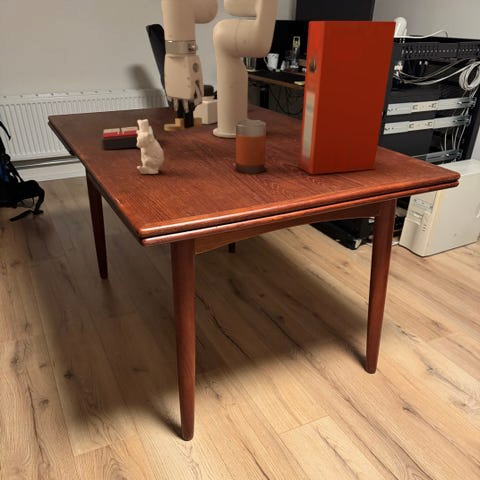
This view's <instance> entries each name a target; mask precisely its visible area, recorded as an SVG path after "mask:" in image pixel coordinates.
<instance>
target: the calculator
mask: <svg viewBox="0 0 480 480" xmlns="http://www.w3.org/2000/svg"><path fill="white" fill-rule="evenodd" d="M137 130H140V127H139V126H128V127H121V128H118V127H117V128H116V127H115V128H108V129H106V128H105V129H103V131H102V133H101V134H102V135H101V141H102V145H103V150H104V151H109V150H119V149H128V148H138V147H137V142H138V141H137V137H138V134H137V133H136V131H137ZM149 133H152V134H153V135H154V138H155V139H156V140H157V138H156V133H155V130H154V128H153V126H151V125H149Z"/></svg>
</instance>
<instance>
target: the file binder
mask: <svg viewBox="0 0 480 480" xmlns="http://www.w3.org/2000/svg"><path fill="white" fill-rule="evenodd" d="M396 26H397V21H390V20H389V21H388V20H384V21H383V20H380V21H378V20H359V21H358V20H316V21H315V20H311V21H309V22H308V34H307V47H306V48H307V49H306V63H305V64H306V65H305V76H304V77H305V78H304V91H303V92H304V93H303V107H302V121H301V135H300V136H301V137H300V149H299V150H300V151H299V166H298V167H299V169H301V170H303V171H305V172H306V173H308V174H309V175H311V176H312V175H323V174H334V173H343V172H344V173H346V172H355V171H366V170H374V169H375V164H376V157H377V153H378V144H379V138H380V132H381V126H382V118H383V111H384V105H385V98H386V92H387V85H388V80H389V72H390V67H391V59H392V53H393V47H394V39H395V33H396Z"/></svg>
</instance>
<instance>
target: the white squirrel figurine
mask: <svg viewBox="0 0 480 480" xmlns="http://www.w3.org/2000/svg"><path fill="white" fill-rule="evenodd" d="M136 122H137V124H138V128H139V127H140V130H137V131H136V133H137V134H138V137H137V141H138V142H137V147H136V148H139V149H140V157H141V158H140V160H141V163H142V166H141V165H137V166H136V169H137V170H138V171H139V172H140V174H142V175H148V174H149V175H155V174H159V169H160V167H161V166H162V165H163V164H164V163H165V154H164V150H163V148H162V147H161V144H160V143H159V141H158V140H157V138H156V137H155V138H156V139H155V138H154V135H153V134H152V133H149V126H150V124H149V120H148V119H138V120H137V121H136Z"/></svg>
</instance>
